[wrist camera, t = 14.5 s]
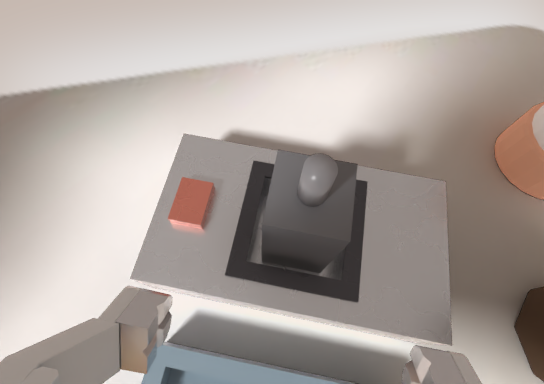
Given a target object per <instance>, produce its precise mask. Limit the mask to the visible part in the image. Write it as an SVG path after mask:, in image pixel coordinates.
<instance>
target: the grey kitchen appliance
mask: <svg viewBox="0 0 544 384" xmlns="http://www.w3.org/2000/svg"><path fill="white" fill-rule="evenodd" d="M276 156H277V150H271V149H266V148H260V147H255V146H250V145H244V144H239V143H233V142H228V141H222V140H217V139H211V138H206V137H200V136H195V135H189V134H184V135H183V137H182V140H181V143H180V145H179V148H178V151H177V153H176V156H175V159H174V161H173V164H172V167H171V170H170V172H169V175H168V178H167V180H166V183H165V186H164V188H163V191H162V194H161V197H160V199H159V202H158V205H157V207H156V210H155V213H154V215H153V218H152V221H151V224H150V226H149V229H148V232H147V234H146V237H145V240H144V242H143V245H142V248H141V250H140V253H139V256H138V259H137V261H136V264H135V267H134V269H133V272H132V275H131V277H130V279H132V280H135V281H137V282H140V283H142V284H144V285H147V286H149V287H152V288H156V289H160V290H165V291H170V292H175V293H179V294H184V295H189V296H194V297H199V298H203V299H208V300H213V301H218V302H223V303H227V304H232V305H237V306H242V307H246V308H251V309H256V310H261V311H266V312H270V313H275V314H280V315H285V316H290V317H294V318H299V319H304V320H309V321H313V322H318V323H323V324H328V325H333V326H337V327H342V328H347V329H352V330H357V331H361V332H366V333H371V334H376V335H380V336H385V337H390V338H395V339H400V340H404V341H409V342H414V343H420V344H435V345H451V346H452V328H451V302H450V276H449V250H448V224H447V198H446V181H441V180H436V179H430V178H425V177H419V176H414V175H408V174H403V173H397V172H392V171H386V170H381V169H375V168H370V167H365V166H359V165H358V166H357V176H356V187H355V198H354V209H353V220H352V230H351V241H350V243H349V244H348V245H347V246H346V247H345V248H344V249H343V250H342V251H341V252H340V253H339V254H338V255H337V256H336V257H335V258H334V259H333V260H332V261H331V262H330V263H329V264H328V265H327V266H326V267H325V269H324V270H323V271H322V272H321V273H316V272H311V271H306V270H301V269H296V268H291V267H286V266H281V265H276V264H271V263H266V262H262V221H263V216H264V211H265V207H266V202H267V197H268V193H269V188H270V184H271V179H272V174H273V170H274V165H275V161H276Z"/></svg>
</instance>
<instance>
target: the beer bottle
mask: <svg viewBox="0 0 544 384" xmlns="http://www.w3.org/2000/svg"><path fill="white" fill-rule="evenodd" d="M514 327H515V330H516V332H517V335H518V337H519V340H520V342H521V345H522V347H523V349H524V352H525V354H526V357H527V359H528V362H529V364H530V367H531V369H532V372H533V374H534V375H536V376H537V377H538V378H540V379H541V380H542V381H544V287H540V288H536V289H532V290H530V291H529V292H528V294H527V297H526V299H525V302H524V304H523V307H522V309H521V312H520V314H519V317H518V319H517V321H516V324H515V326H514Z"/></svg>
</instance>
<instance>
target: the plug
mask: <svg viewBox="0 0 544 384" xmlns="http://www.w3.org/2000/svg"><path fill="white" fill-rule="evenodd" d="M357 166H358V164H354V163H349V162H343V161H338V160H334V159H333V158H331V157H330V156H328V155H326V154H313V155H311V156H310V155H305V154H300V153H294V152H289V151H283V150H278V151H277V156H276V161H275V165H274V170H273V174H272V179H271V184H270V188H269V193H268V197H267V202H266V207H265V211H264V216H263V221H262V262H266V263H271V264H276V265H281V266H286V267H291V268H296V269H301V270H306V271H311V272H316V273H321V272H322V271H323V270H324V269H325V267H326V266H327V265H328V264H329V263H330V262H331V261H332V260H333V259H334V258H335V257H336V256H337V255H338V254H339V253H340V252H341V251H342V250H343V249H344V248H345V247H346V246H347V245H348V244H349V243H350V241H351V230H352V220H353V209H354V198H355V187H356V176H357Z"/></svg>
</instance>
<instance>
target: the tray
mask: <svg viewBox="0 0 544 384" xmlns="http://www.w3.org/2000/svg"><path fill="white" fill-rule="evenodd" d="M142 384H357V383H353V382H348V381H344V380H339V379H334V378H330V377H325V376H321V375H316V374H311V373H307V372H302V371H298V370H293V369H288V368H284V367H279V366H275V365H270V364H265V363H261V362H256V361H252V360H247V359H242V358H238V357H233V356H229V355H224V354H219V353H215V352H210V351H206V350H201V349H196V348H192V347H187V346H183V345H178V344H173V343H169V342H164V343H163V345H161V346H160V347H158V348H157V356H156V358H155V360H154V362H153V364H152V365H151V367H150V369H149V371H148V373H147V374H144V377H143V381H142Z"/></svg>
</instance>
